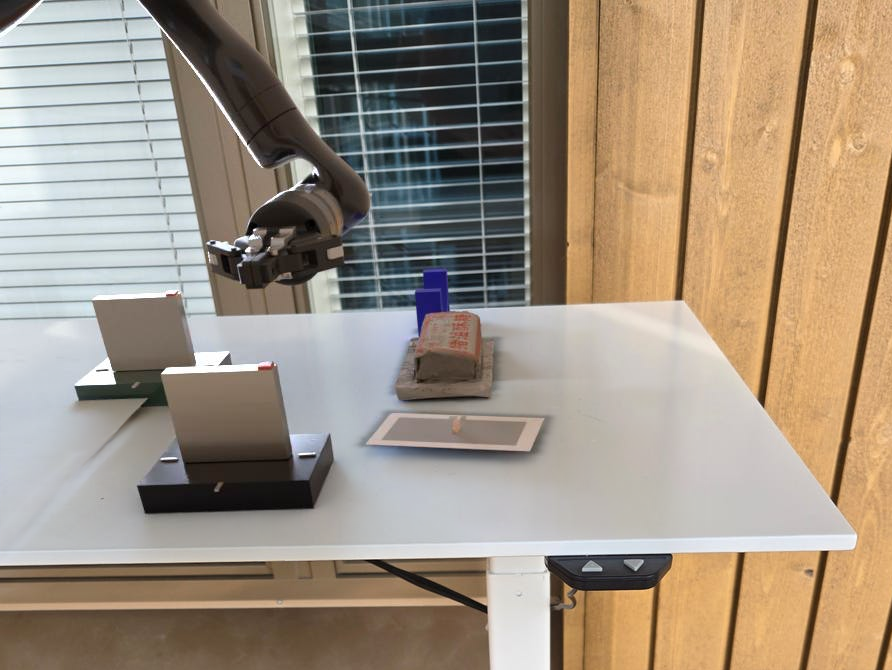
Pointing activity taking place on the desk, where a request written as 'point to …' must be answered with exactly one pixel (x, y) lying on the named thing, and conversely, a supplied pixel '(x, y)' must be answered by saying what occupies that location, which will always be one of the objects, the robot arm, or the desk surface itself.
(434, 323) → the brown block with base
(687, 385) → the desk surface
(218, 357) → the green base plate
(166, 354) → the beige slab
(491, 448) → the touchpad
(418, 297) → the blue stepped block
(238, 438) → the red-tipped upright panel
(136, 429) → the desk surface
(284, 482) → the black square base
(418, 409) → the desk surface
